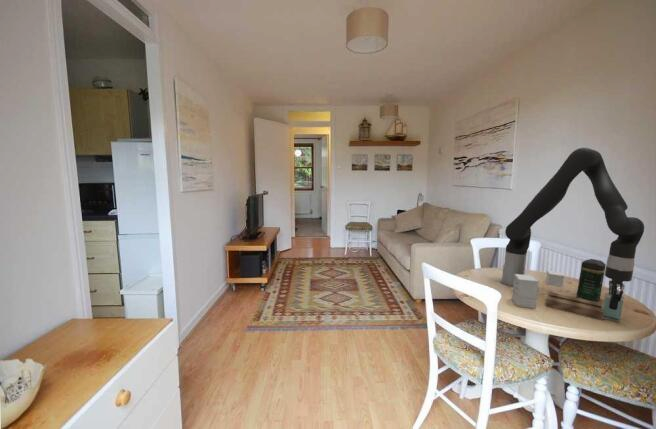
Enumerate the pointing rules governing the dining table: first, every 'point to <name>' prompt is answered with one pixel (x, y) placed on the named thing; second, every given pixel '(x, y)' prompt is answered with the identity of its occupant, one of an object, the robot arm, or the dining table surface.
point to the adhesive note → (554, 278)
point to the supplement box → (525, 290)
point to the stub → (612, 312)
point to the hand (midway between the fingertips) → (612, 307)
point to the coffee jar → (591, 279)
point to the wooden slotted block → (575, 305)
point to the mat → (611, 318)
